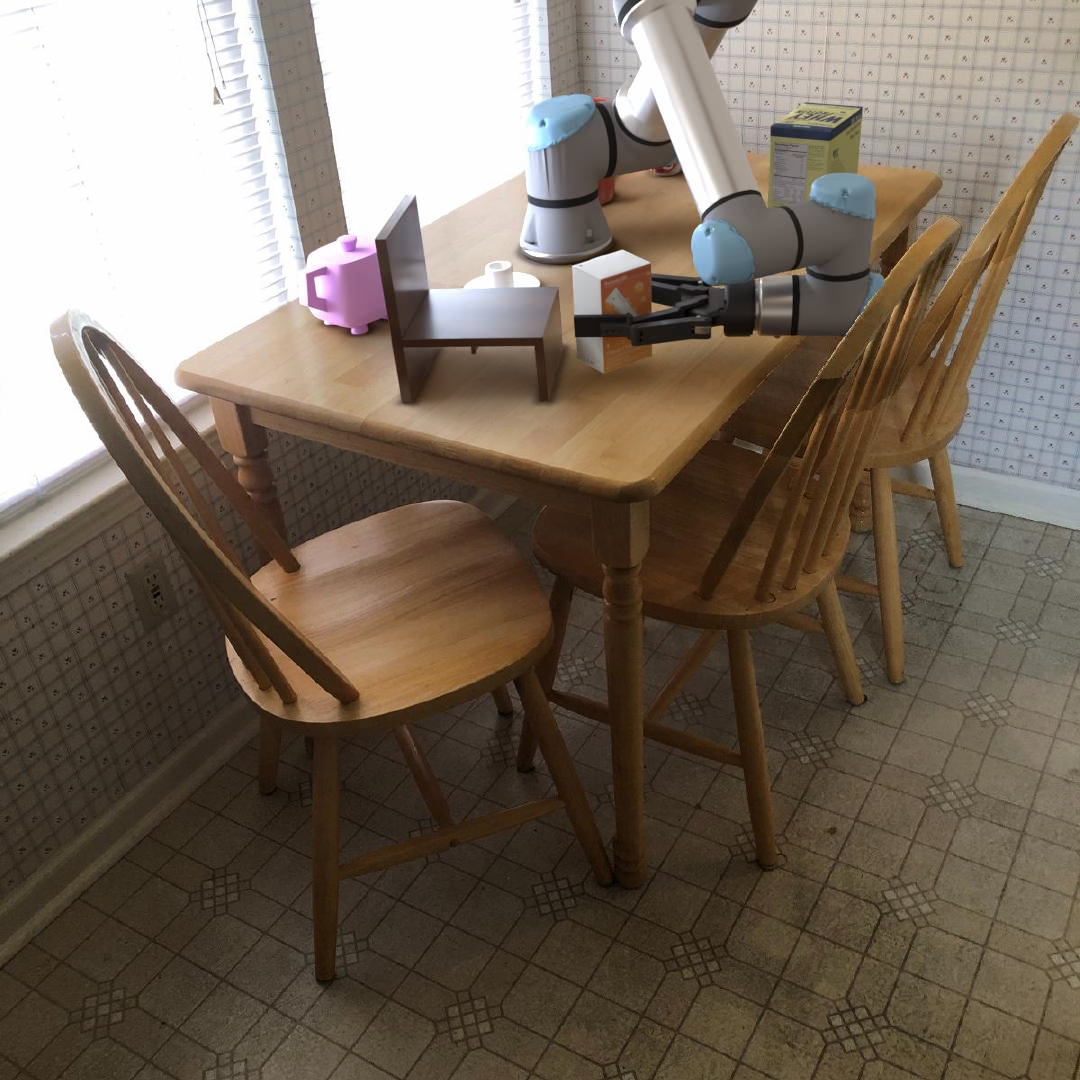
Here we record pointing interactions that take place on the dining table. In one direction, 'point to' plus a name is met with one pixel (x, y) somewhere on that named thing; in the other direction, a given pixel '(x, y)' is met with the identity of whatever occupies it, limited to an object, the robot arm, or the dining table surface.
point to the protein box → (811, 149)
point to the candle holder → (503, 277)
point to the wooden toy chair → (457, 310)
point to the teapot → (344, 283)
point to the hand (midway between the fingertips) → (579, 308)
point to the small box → (612, 305)
